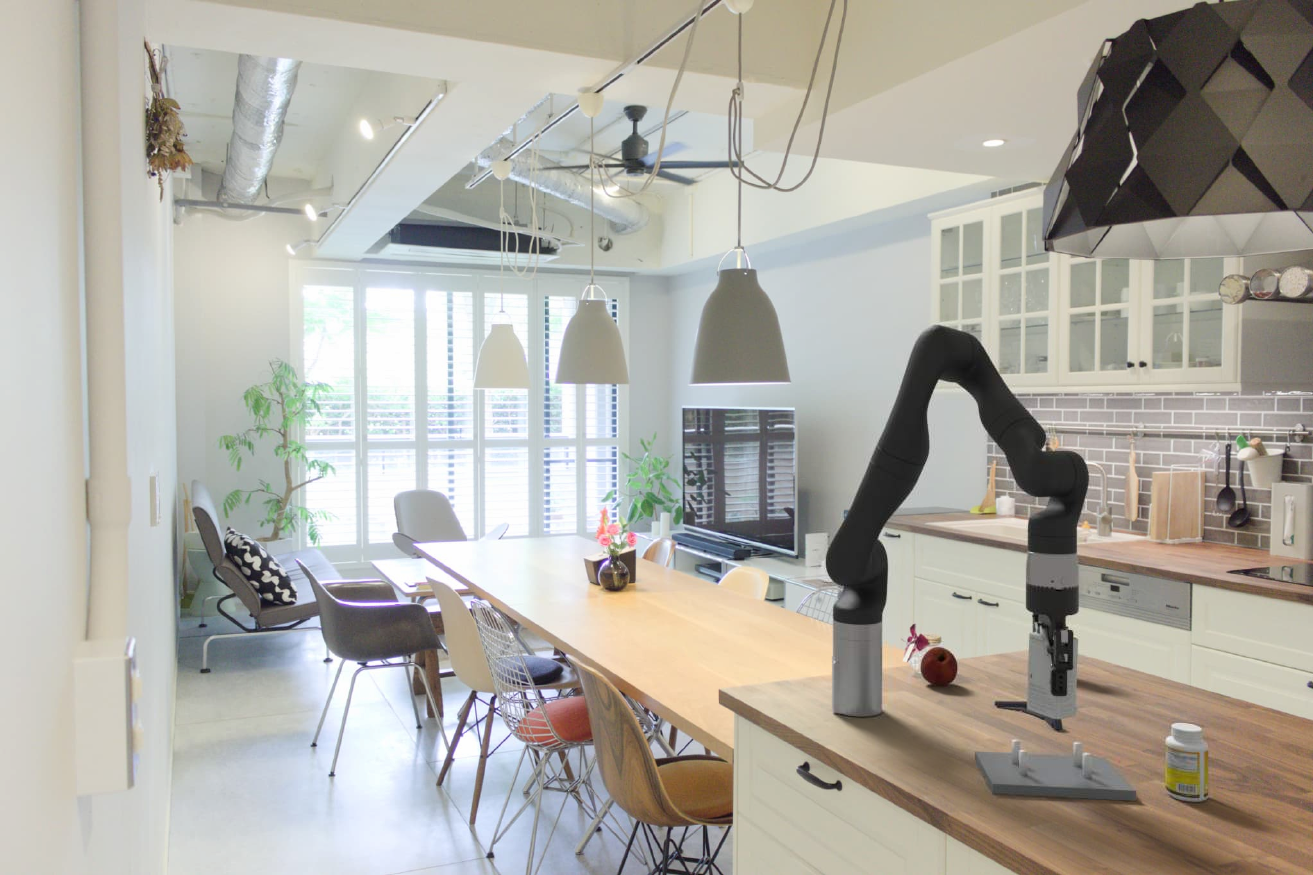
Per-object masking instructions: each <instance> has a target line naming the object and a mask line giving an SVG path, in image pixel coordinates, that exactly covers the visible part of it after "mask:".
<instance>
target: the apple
mask: <svg viewBox="0 0 1313 875" xmlns="http://www.w3.org/2000/svg"><path fill="white" fill-rule="evenodd" d="M919 668H920V669H919V670H920V674H921V676H922V677H923V679H924V680H925V681H926V682H928V683H929V684H931V685H933V686H937V687H944V686H946V687H947V686H948V685H950V684H952V683H953V681H955V679H956V678H957V675H958V669H959V668H958V661H957V659H956V656H955V655H954V654H953V653H952V652H951V650H949V649H947V648H944V647H942V646H936V647H935V646H934V647H932V648H930V649H929V650H927V651H926V652H925V654H924V655H923V656H922V659H921V662H920V667H919Z"/></svg>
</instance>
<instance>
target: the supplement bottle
mask: <svg viewBox="0 0 1313 875" xmlns="http://www.w3.org/2000/svg"><path fill="white" fill-rule="evenodd" d="M1170 734H1171V735H1169V736H1167V737H1166V738H1165V747H1164V748H1165V750H1164V751H1165V756H1164V758H1165V761H1164V762H1165V768H1164V769H1165V772H1164V773H1165V776H1164V778H1165V779H1164V780H1165V784H1164V786H1165V792H1166V793H1167V794H1168V795H1169V796H1170V797H1172V798H1174V799H1176V800H1179V801H1183V802H1189V803H1190V802H1191V803H1199V802H1204V801H1206V800H1207V799H1208V797H1209V744H1208V742H1206V741H1205V740H1203V737H1204V736H1203V728H1202V727H1200V726H1199V725H1196V724H1193V723H1192V724H1191V723H1186V722H1175V723H1173V724H1171V730H1170Z"/></svg>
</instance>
